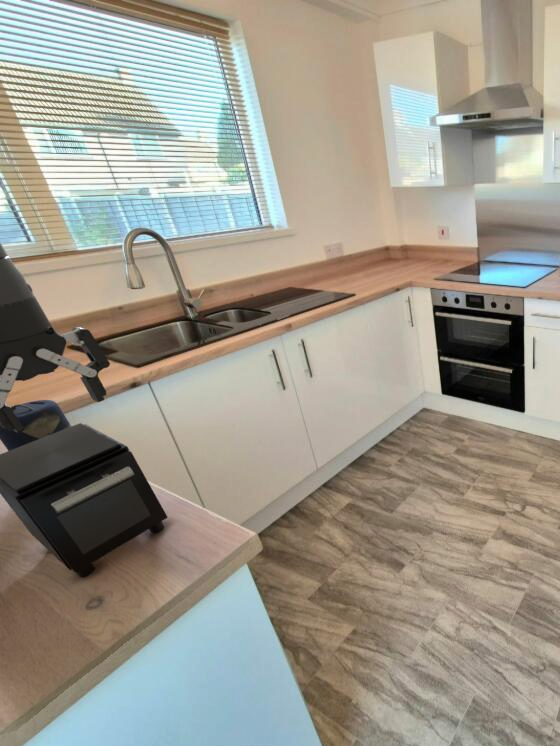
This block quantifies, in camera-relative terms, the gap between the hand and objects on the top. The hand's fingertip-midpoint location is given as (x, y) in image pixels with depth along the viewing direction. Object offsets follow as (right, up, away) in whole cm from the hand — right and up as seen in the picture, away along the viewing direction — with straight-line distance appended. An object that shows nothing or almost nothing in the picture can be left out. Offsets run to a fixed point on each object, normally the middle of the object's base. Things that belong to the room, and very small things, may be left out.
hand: (61, 414), depth 59 cm
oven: (-8, -23, +16) cm, 29 cm away
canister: (-32, -16, +32) cm, 48 cm away
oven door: (+1, -22, +9) cm, 24 cm away
